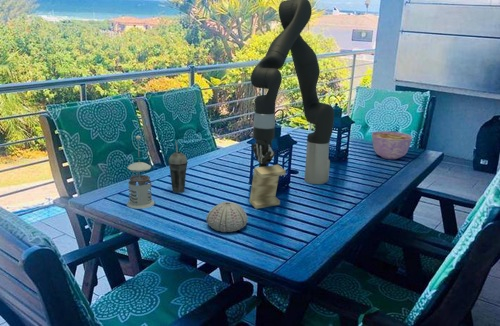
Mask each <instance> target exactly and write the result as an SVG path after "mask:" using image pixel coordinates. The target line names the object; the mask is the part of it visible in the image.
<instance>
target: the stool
mask: <svg viewBox="0 0 500 326" xmlns="http://www.w3.org/2000/svg"><path fill="white" fill-rule="evenodd" d="M286 172H287V170H286V169H284V168H283V167H282V166H281V165H280V164H274V165H267V166H264V167H259V166H258V167H254V170H253V175H252V182H251V188H250V196H249V201H248V202H249V203H250V204H251V205H252V207H253V208H255V210H257V209H262V208H263V209H264V208H269V207H274V206H275V207H276V206H280V205H281V201H280V199H279V198H278V197H277V196H276V194H277V189H278V183H279V179H280V176H286Z"/></svg>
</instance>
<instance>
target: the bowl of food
mask: <svg viewBox="0 0 500 326" xmlns="http://www.w3.org/2000/svg"><path fill="white" fill-rule="evenodd" d="M371 139H372V140H371V141H372V145H373V146H372V147H373V151H374V152H375V153H376V155H378V156H379V157H381V158H382V159H385V160H398V159H399V158H402V157H404V156H405V155H407V153H408V151H409V148H410V145H411V144H412V140H413V136H412V135H411V134H408V133H404V132H399V131H390V130H382V131H381V130H380V131H373V132H372V133H371Z"/></svg>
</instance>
